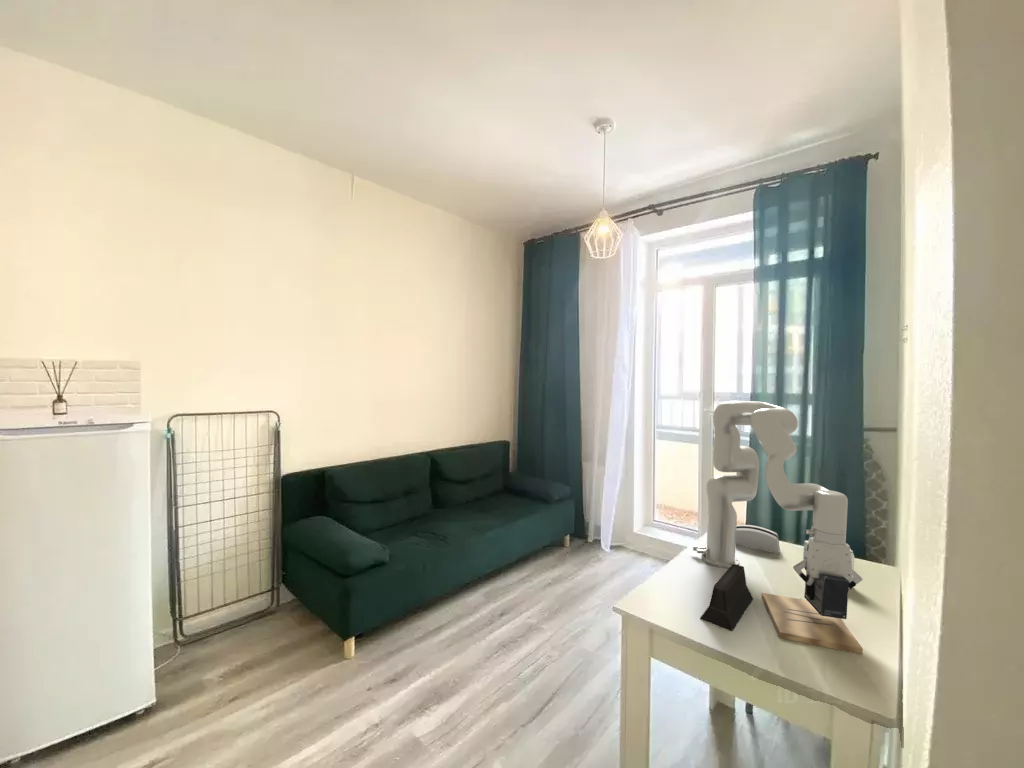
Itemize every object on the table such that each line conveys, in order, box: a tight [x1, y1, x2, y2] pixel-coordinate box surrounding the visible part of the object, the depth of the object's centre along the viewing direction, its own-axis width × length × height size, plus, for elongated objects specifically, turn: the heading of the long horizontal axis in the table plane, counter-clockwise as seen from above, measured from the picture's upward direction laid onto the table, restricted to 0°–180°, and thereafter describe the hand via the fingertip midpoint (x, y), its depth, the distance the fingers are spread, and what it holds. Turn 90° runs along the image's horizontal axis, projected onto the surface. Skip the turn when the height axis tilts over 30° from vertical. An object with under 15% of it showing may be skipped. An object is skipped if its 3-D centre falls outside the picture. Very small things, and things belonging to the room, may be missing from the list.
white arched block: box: [736, 524, 781, 555], centre depth 175 cm, size 17×5×10 cm, turn 56°
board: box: [761, 592, 864, 655], centre depth 122 cm, size 18×22×2 cm
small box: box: [803, 570, 849, 620], centre depth 121 cm, size 11×6×10 cm, turn 168°
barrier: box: [699, 564, 754, 632], centre depth 128 cm, size 24×9×10 cm, turn 139°
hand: (825, 600), depth 121 cm, fingers closed on small box, 6 cm apart
